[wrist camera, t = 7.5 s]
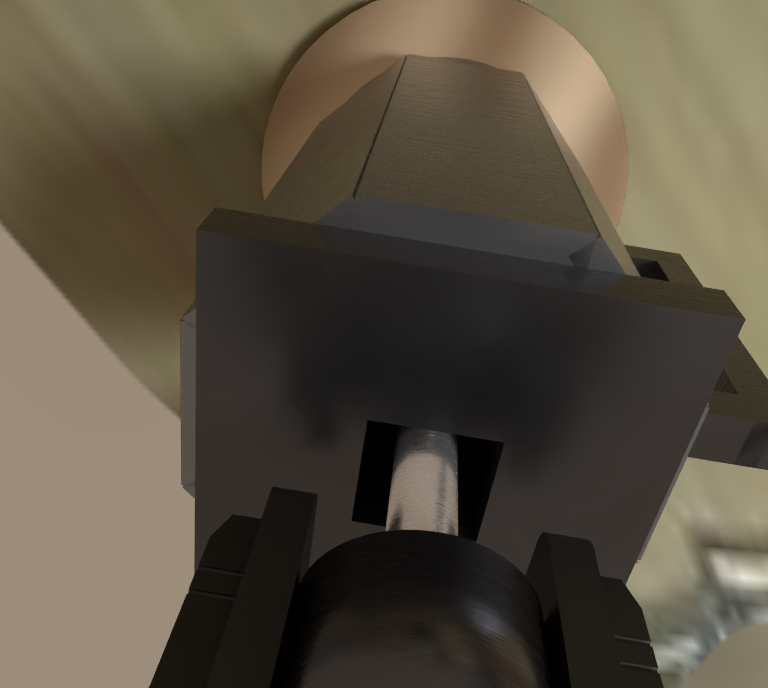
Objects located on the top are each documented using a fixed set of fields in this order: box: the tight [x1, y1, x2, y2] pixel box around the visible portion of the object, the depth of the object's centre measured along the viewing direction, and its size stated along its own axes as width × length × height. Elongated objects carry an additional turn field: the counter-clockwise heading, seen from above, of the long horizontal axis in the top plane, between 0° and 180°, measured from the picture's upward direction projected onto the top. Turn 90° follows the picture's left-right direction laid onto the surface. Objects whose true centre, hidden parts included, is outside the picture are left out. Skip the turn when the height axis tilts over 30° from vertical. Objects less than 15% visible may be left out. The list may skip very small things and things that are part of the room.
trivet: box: [261, 0, 628, 230], centre depth 28 cm, size 14×14×1 cm
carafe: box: [180, 54, 768, 585], centre depth 20 cm, size 13×10×17 cm
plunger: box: [275, 425, 552, 688], centre depth 16 cm, size 7×7×20 cm
